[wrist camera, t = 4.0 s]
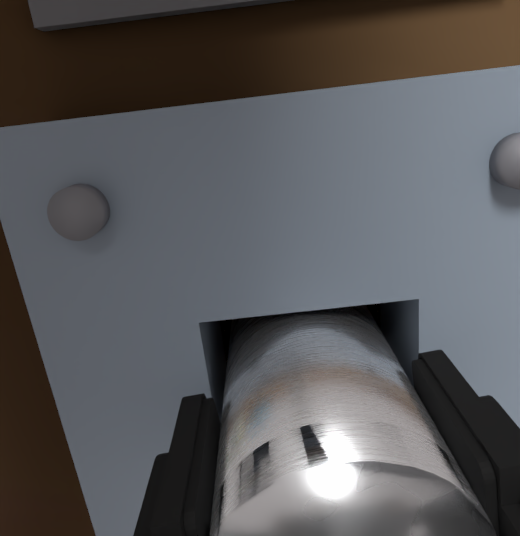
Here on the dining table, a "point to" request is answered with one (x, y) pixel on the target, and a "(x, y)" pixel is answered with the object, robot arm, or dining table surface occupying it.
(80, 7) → the mat
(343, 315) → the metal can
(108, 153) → the plate
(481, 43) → the dining table surface
